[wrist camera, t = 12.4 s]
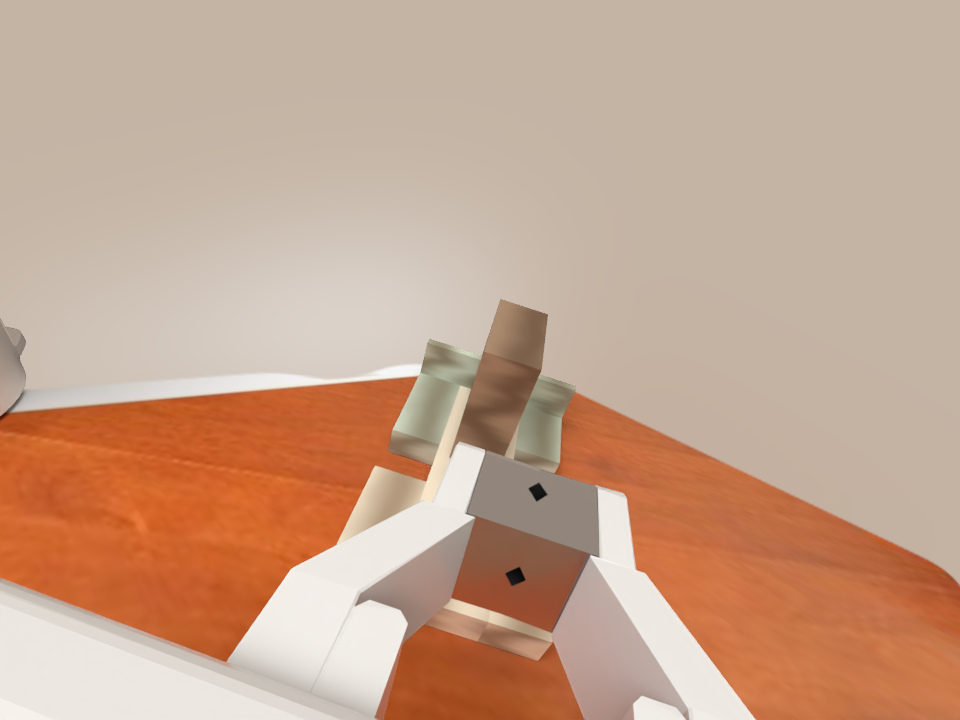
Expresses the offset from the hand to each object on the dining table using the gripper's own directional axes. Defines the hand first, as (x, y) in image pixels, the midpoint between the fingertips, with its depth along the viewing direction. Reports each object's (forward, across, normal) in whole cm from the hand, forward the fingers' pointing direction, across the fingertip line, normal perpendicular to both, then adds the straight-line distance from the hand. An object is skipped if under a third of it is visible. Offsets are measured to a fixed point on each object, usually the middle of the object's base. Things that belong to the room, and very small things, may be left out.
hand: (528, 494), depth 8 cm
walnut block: (+31, -2, -21) cm, 37 cm away
